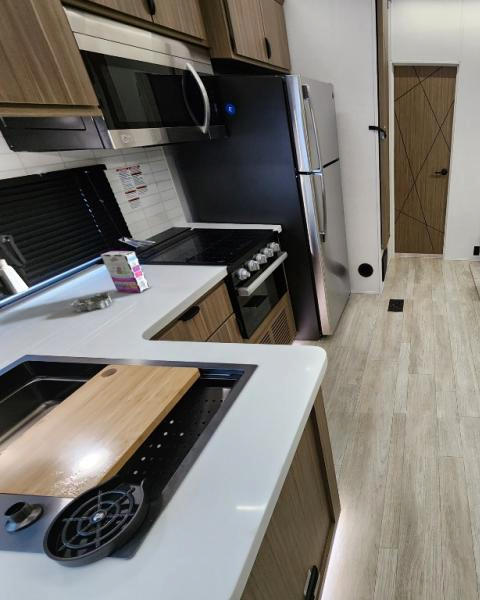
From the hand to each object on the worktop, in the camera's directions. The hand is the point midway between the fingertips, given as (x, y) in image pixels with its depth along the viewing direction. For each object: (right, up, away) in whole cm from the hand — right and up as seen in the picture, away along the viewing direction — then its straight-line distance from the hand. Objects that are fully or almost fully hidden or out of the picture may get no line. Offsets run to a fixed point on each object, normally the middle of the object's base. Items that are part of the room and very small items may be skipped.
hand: (17, 290), depth 111 cm
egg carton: (+11, -6, +16) cm, 20 cm away
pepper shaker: (0, 0, 0) cm, 1 cm away
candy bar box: (+16, +1, +28) cm, 33 cm away
